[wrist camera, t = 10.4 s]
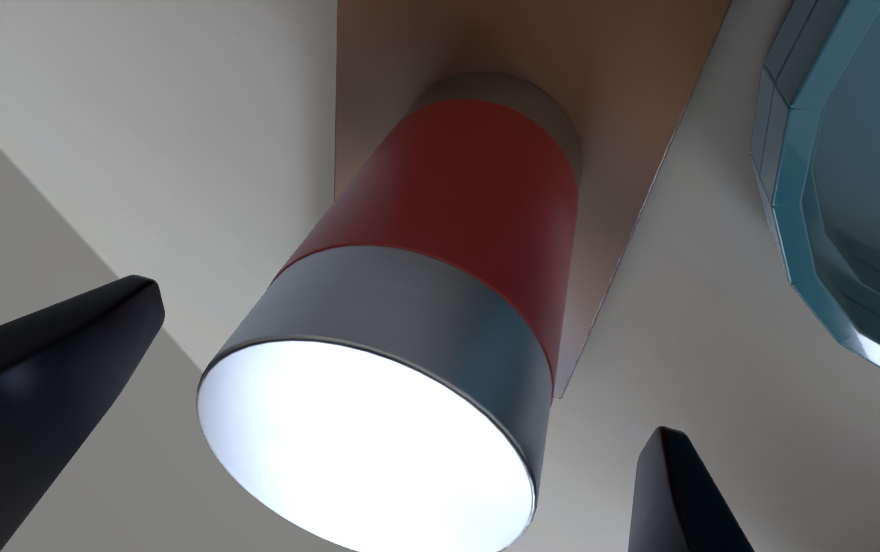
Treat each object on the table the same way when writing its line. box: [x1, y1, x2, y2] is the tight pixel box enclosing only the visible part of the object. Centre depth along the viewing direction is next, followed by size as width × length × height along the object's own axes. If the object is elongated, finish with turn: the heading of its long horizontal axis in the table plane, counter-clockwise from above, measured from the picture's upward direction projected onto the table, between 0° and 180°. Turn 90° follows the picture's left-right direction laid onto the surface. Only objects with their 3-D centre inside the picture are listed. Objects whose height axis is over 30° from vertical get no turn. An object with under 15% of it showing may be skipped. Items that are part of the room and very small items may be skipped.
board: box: [334, 0, 732, 399], centre depth 16 cm, size 17×9×1 cm, turn 172°
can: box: [196, 72, 582, 552], centre depth 12 cm, size 5×5×10 cm
